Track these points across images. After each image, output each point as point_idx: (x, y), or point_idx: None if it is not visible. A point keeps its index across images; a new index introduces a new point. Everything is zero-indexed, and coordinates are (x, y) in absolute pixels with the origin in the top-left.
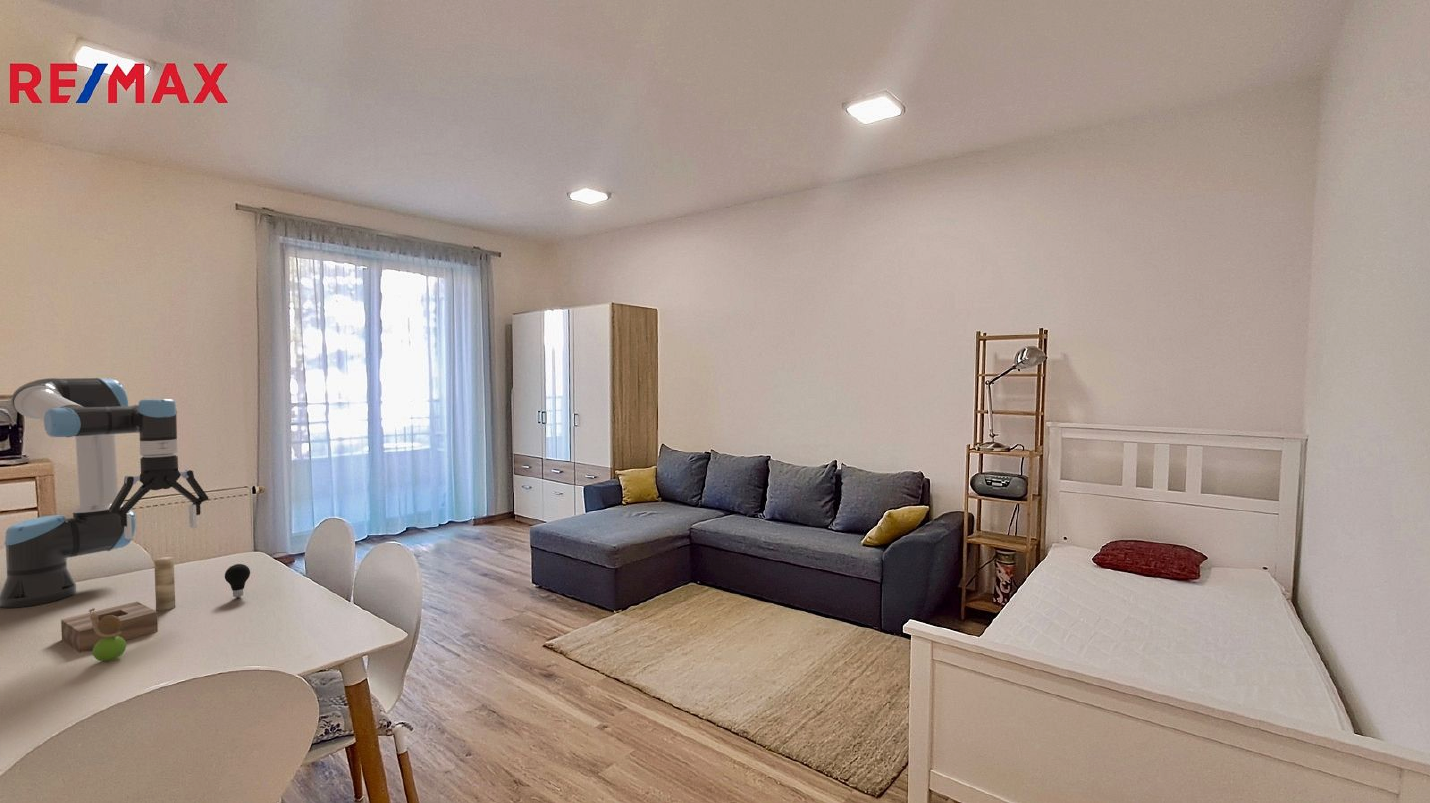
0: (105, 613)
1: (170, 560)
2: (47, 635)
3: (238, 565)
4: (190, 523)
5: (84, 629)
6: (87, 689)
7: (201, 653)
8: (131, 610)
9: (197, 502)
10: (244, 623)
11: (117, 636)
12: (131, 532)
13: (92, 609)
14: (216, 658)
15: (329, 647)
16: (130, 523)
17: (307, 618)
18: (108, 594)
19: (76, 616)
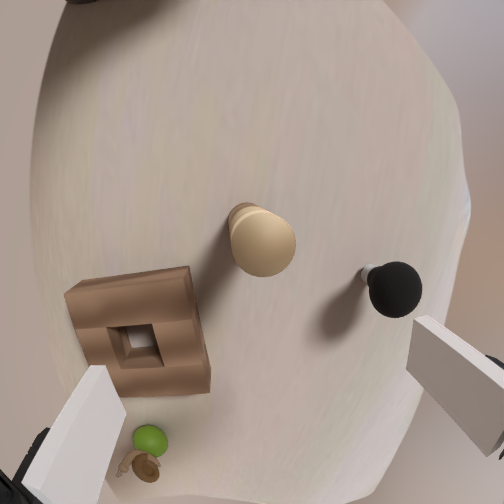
0: (126, 325)
1: (278, 271)
2: (64, 230)
3: (408, 307)
4: (424, 343)
5: None
6: None
7: (241, 471)
8: (169, 347)
9: None
10: (313, 419)
11: (156, 454)
12: (116, 437)
13: (119, 475)
14: (250, 485)
15: (326, 500)
16: (99, 480)
17: (365, 440)
18: (183, 3)
19: (83, 297)
